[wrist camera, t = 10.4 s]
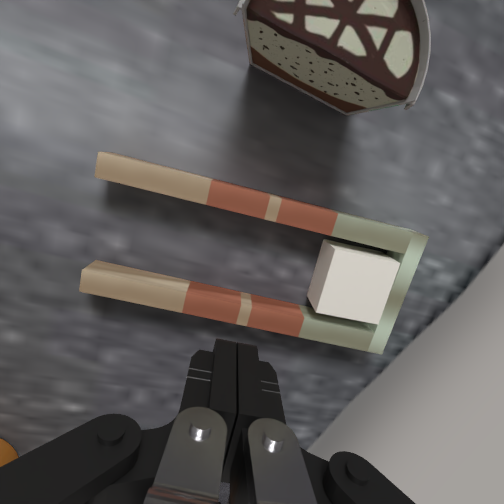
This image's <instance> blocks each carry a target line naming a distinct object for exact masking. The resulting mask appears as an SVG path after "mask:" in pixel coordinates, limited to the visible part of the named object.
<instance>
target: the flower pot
mask: <svg viewBox="0 0 504 504" xmlns="http://www.w3.org/2000/svg"><path fill="white" fill-rule="evenodd" d="M17 458H19V457H18V455H17V452H16V451H15V450H14V448H13V447H12V446H11V445H10V444H9V443H8V442H6V441H5V440H3V439H1V438H0V467H1V466H3V465H5V464H7V463H9V462H11V461H13V460H15V459H17Z"/></svg>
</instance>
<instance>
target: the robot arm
mask: <svg viewBox="0 0 504 504" xmlns="http://www.w3.org/2000/svg"><path fill="white" fill-rule="evenodd" d="M221 482H225V483H230V495H229V498H228V502H227V504H415V503H414V502H413V501H412V500H411V499H410V498H408V497H407V496H406V495H405V494H404V493H403V492H402V491H401V490H399V489H398V488H397V487H396V486H395V485H394V484H393V483H392V482H391V481H389V480H388V479H387V478H386V477H385V476H384V475H383V474H382V473H380V472H379V471H378V470H377V469H376V468H375V467H374V466H373V465H371V464H370V463H369V462H368V461H367V460H365V459H364V458H362V457H360V456H358V455H356V454H354V453H351V452H345V451H344V452H337V453H335V454H334V455H333V456H332V457H331V459H330V461H329V462H328V461H326V460H324V459H321V458H319V457H317V456H315V455H313V454H310V453H308V452H307V451H305V450H304V449H302V448H301V447H300V446H299V442H298V439H297V437H296V435H295V434H294V432H293V431H292V430H291V429H290V428H289V427H288V426H287V425H286V422H285V416H284V411H283V406H282V401H281V395H280V390H279V385H278V380H277V374H276V372H275V370H274V369H273V367H272V366H271V365H270V363H269V362H263V361H259V358H258V349H257V346H254V345H249V344H244V343H238V342H237V344H236V342H233V341H228V340H222V339H216V341H215V345H214V349H213V352H209V351H204V350H198V351H197V352H196V353H195V354H194V355H193V356H192V357H191V362H190V366H189V371H188V375H187V380H186V384H185V389H184V393H183V398H182V402H181V406H180V410H179V413H178V415H177V416H176V418H175V419H174V420H173V421H171V422H170V423H169V424H167V425H165V426H163V427H159V428H155V429H148V430H141V429H140V427H139V425H138V423H137V422H136V421H135V420H133V419H132V418H130V417H128V416H125V415H121V414H107V415H103V416H99V417H97V418H95V419H92V420H91V421H89V422H87V423H85V424H83V425H81V426H79V427H77V428H75V429H73V430H71V431H69V432H67V433H65V434H63V435H61V436H59V437H58V438H56V439H54V440H52V441H50V442H48V443H46V444H44V445H42V446H40V447H38V448H36V449H34V450H32V451H30V452H28V453H27V454H25V455H23V456H21V457H19V458H17V459H15V460H13V461H11V462H9V463H7V464H5V465H3V466H1V467H0V504H221V503H220V502H218V500H219V491H220V483H221Z"/></svg>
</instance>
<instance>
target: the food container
mask: <svg viewBox="0 0 504 504" xmlns="http://www.w3.org/2000/svg"><path fill="white" fill-rule="evenodd" d="M239 9H241V10H242V14H243V21H244V28H245V35H246V42H247V49H248V55H249V62H250V64H251V65H252V66H254V67H256V68H258V69H260V70H262V71H264V72H266V73H267V74H269V75H271V76H273V77H275V78H277V79H279V80H281V81H283V82H284V83H286V84H288V85H290V86H292V87H294V88H296V89H298V90H299V91H301V92H303V93H305V94H307V95H309V96H311V97H313V98H314V99H316V100H318V101H320V102H322V103H324V104H326V105H328V106H329V107H331V108H333V109H335V110H337V111H339V112H341V113H343V114H344V115H346V116H347V115H352V114H357V113H362V112H367V111H372V110H378V109H383V108H388V107H393V106H398V105H403V104H406V106H405V108H404V109H405V110H408V109H409V108H410V107H412V106H413V105H414V104H415V102H416V100H417V98H418V96H419V93H420V91H421V89H422V87H423V83H424V80H425V77H426V74H427V70H428V64H429V58H430V46H431V33H430V24H429V17H428V13H427V9H426V5H425V2H424V0H240V1H239V3H238V5H237V7H236V9H235V12H234V15H235V16H236V14H237V13H238V11H239Z"/></svg>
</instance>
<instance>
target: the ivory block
mask: <svg viewBox="0 0 504 504" xmlns="http://www.w3.org/2000/svg"><path fill="white" fill-rule="evenodd" d="M399 266H400V263H399V262H397V261H396V260H394V259H393V258H391V257H389V256H388V255H386V254H385V253H383V252H381V251H376V250H372V249H367V248H362V247H358V246H353V245H349V244H344V243H340V242H335V241H331V240H326V239H323V242H322V246H321V249H320V253H319V256H318V259H317V263H316V266H315V270H314V273H313V277H312V280H311V283H310V287H309V290H308V294H307V297H308V299H309V301H310V302H311V304H312V306H313V308H314V310H315V312H316V313H321V314H326V315H331V316H336V317H342V318H347V319H352V320H357V321H362V322H367V323H373V324H379V321H380V319H381V316H382V313H383V310H384V307H385V305H386V302H387V299H388V296H389V294H390V291H391V288H392V285H393V283H394V280H395V277H396V274H397V271H398V269H399Z"/></svg>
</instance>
